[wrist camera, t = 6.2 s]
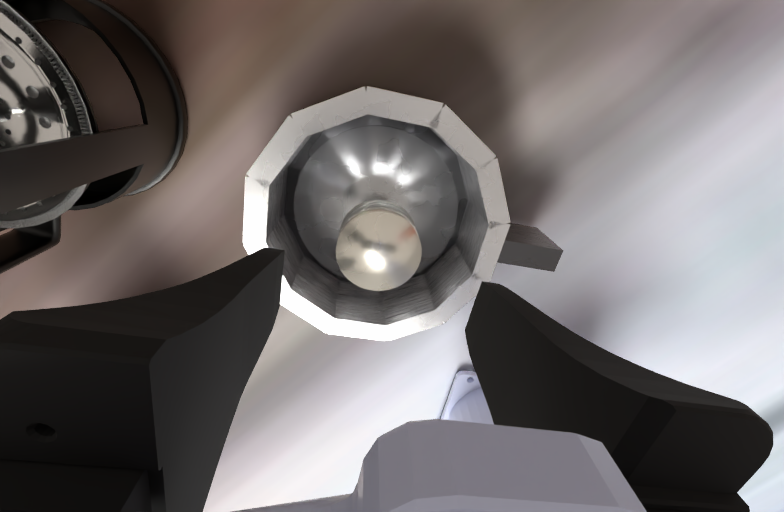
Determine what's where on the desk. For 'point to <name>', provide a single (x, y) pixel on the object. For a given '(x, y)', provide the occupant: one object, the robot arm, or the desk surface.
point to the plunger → (375, 205)
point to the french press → (75, 124)
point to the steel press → (432, 284)
